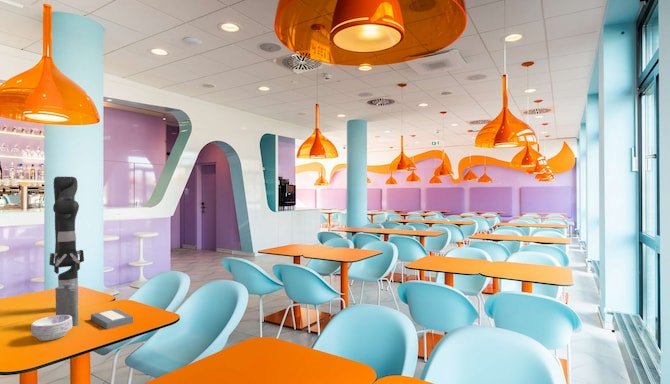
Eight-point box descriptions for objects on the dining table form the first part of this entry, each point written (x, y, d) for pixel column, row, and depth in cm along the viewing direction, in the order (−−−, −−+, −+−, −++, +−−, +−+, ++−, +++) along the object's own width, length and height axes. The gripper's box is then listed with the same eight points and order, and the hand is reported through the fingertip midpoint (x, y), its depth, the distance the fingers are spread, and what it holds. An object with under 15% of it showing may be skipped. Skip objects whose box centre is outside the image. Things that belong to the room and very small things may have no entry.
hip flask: (54, 322, 197) (54, 283, 197) (63, 319, 200) (62, 281, 200) (73, 326, 190) (72, 286, 190) (81, 324, 193) (81, 284, 193)
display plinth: (90, 320, 199) (90, 313, 199) (115, 314, 208) (115, 308, 208) (107, 329, 185) (107, 322, 185) (133, 322, 194) (133, 316, 194)
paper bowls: (24, 345, 166) (24, 327, 166) (40, 333, 181) (40, 316, 181) (64, 341, 171) (64, 323, 171) (77, 329, 185) (77, 313, 185)
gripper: (80, 238, 203) (80, 269, 203) (47, 241, 192) (48, 273, 192) (85, 239, 198) (85, 270, 198) (51, 242, 187) (52, 275, 187)
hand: (67, 272), depth 195 cm, fingers open, 8 cm apart
